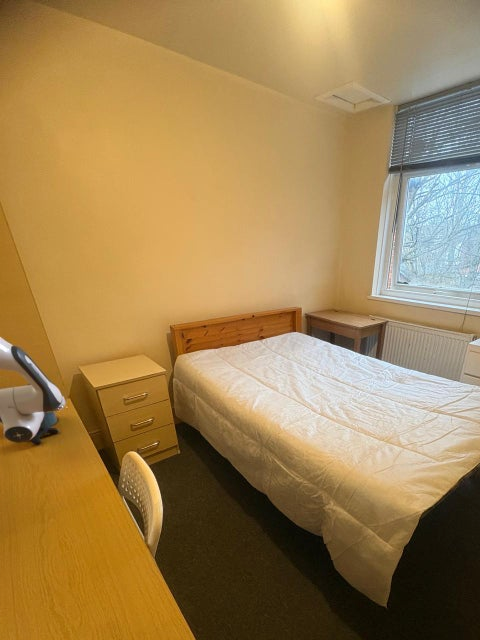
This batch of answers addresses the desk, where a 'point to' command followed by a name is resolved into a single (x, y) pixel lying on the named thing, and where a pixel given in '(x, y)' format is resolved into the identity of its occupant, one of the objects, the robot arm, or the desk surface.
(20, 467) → the desk surface
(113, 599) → the desk surface
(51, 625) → the desk surface
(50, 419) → the bowl
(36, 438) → the gaming controller
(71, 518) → the desk surface
